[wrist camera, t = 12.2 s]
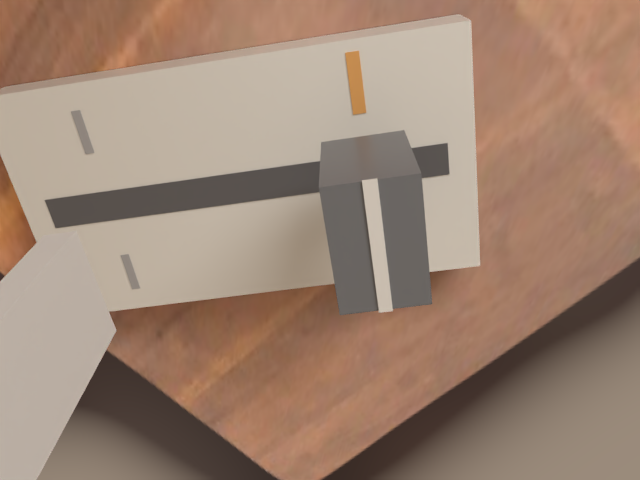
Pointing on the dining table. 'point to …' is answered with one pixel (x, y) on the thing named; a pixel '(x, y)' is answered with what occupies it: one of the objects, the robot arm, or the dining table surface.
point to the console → (240, 158)
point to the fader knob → (375, 222)
